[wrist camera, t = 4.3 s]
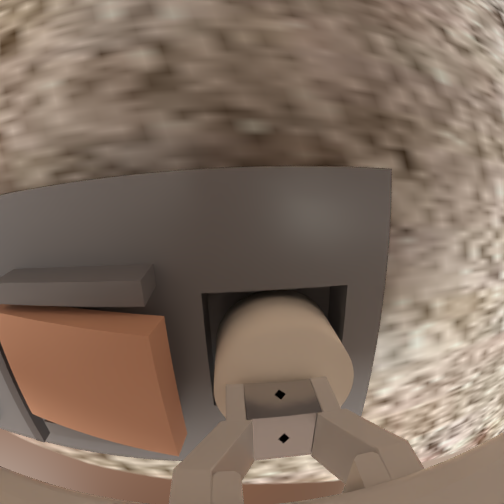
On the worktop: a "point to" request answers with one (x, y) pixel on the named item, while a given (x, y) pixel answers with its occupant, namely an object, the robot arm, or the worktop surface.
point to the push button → (278, 345)
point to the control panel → (197, 267)
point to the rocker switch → (96, 373)
